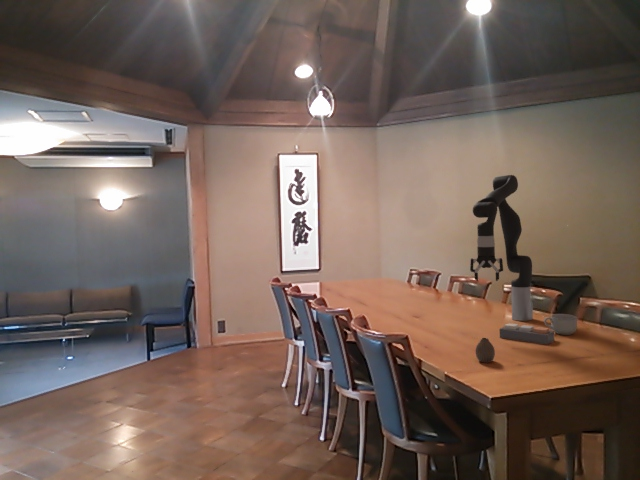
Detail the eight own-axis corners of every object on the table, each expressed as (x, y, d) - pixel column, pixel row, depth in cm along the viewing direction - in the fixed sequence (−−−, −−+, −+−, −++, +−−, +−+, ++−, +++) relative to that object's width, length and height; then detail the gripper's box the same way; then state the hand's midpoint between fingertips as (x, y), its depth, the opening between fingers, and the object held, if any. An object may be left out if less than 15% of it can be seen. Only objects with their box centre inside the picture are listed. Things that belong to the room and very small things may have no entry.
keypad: (554, 340, 208) (554, 331, 208) (547, 344, 202) (547, 335, 202) (507, 333, 222) (507, 325, 222) (499, 337, 216) (499, 328, 216)
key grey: (533, 331, 212) (533, 326, 212) (529, 334, 209) (529, 328, 209) (523, 330, 215) (522, 325, 215) (519, 332, 212) (518, 327, 212)
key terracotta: (549, 334, 207) (549, 328, 207) (545, 336, 204) (545, 330, 204) (538, 332, 211) (538, 326, 211) (534, 334, 207) (534, 328, 207)
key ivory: (518, 329, 216) (518, 324, 216) (514, 332, 213) (514, 326, 213) (508, 328, 220) (508, 323, 220) (504, 330, 216) (504, 325, 216)
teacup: (575, 331, 222) (575, 313, 222) (579, 336, 212) (579, 318, 212) (542, 330, 227) (541, 313, 227) (544, 335, 217) (544, 318, 216)
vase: (472, 359, 186) (472, 336, 186) (490, 358, 187) (489, 335, 186) (480, 364, 179) (479, 341, 179) (498, 363, 180) (497, 340, 180)
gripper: (501, 244, 223) (502, 279, 224) (469, 245, 227) (470, 279, 228) (503, 245, 216) (504, 281, 217) (469, 246, 220) (470, 282, 220)
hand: (486, 280), depth 222 cm, fingers open, 8 cm apart
